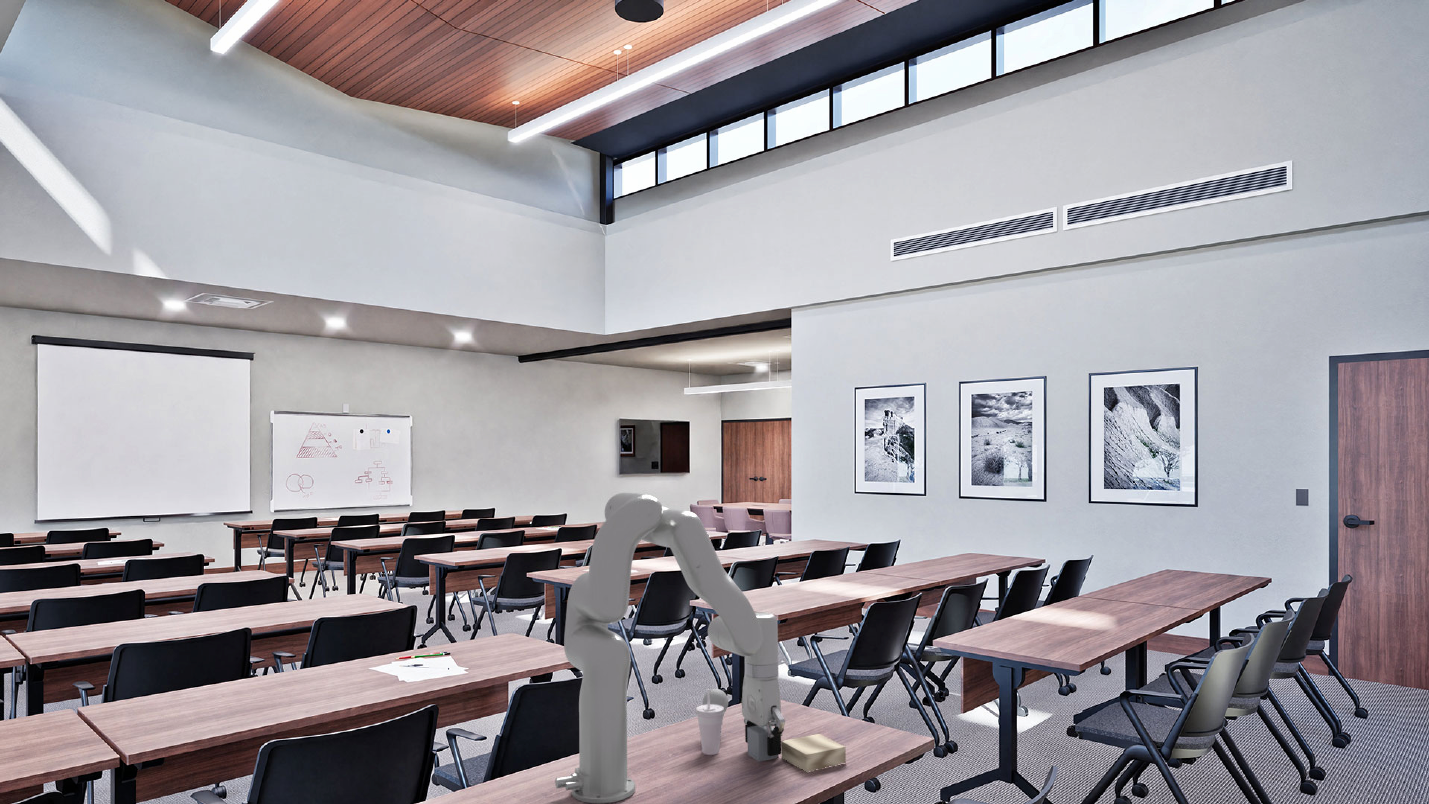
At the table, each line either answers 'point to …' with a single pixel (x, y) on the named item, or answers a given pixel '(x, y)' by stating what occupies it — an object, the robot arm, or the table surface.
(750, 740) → the grey block
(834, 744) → the maple block
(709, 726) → the smoothie
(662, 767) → the table surface
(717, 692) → the lightbulb
